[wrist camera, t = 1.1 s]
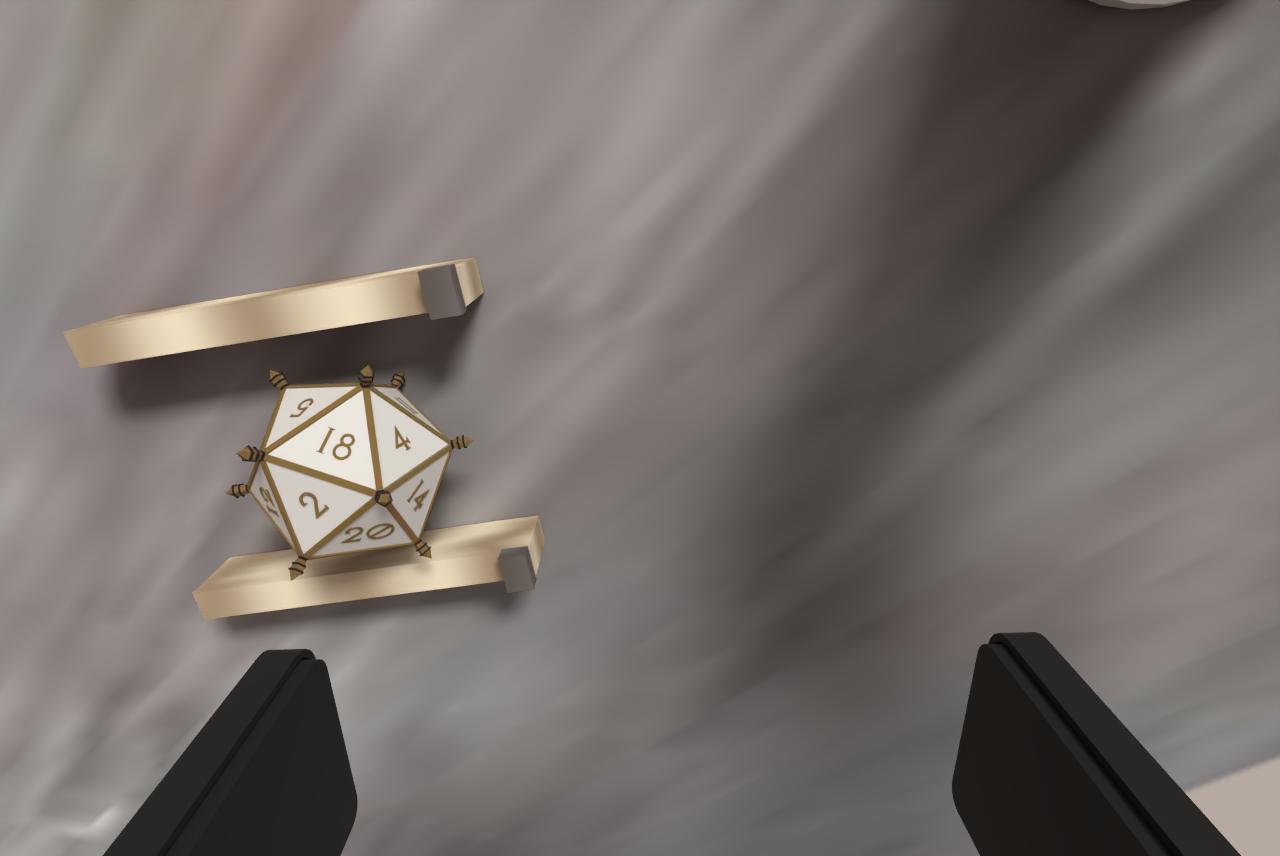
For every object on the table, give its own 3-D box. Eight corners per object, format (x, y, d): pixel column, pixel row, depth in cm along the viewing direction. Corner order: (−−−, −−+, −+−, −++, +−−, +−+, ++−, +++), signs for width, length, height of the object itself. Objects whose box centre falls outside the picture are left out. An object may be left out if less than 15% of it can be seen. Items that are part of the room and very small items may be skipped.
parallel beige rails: (473, 253, 28) (448, 267, 24) (545, 544, 33) (533, 589, 29) (117, 312, 29) (43, 333, 25) (242, 584, 34) (195, 633, 31)
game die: (444, 382, 34) (535, 422, 26) (387, 539, 34) (462, 626, 26) (250, 318, 28) (293, 344, 20) (183, 506, 28) (199, 604, 20)
